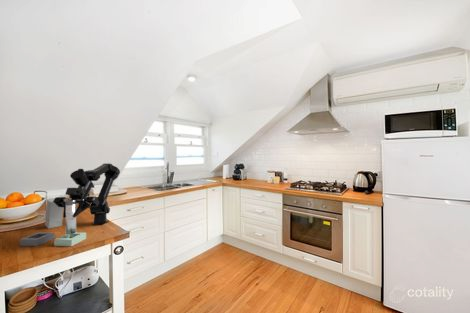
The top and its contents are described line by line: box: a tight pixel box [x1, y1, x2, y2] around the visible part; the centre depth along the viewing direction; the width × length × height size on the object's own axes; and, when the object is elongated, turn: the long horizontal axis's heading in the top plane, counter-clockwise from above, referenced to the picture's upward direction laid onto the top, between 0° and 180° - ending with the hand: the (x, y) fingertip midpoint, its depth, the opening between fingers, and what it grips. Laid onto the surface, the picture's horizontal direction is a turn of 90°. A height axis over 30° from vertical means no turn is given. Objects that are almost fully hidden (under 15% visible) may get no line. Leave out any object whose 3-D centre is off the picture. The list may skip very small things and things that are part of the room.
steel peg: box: [65, 198, 77, 234], centre depth 95 cm, size 4×4×16 cm
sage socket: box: [53, 231, 87, 247], centre depth 96 cm, size 8×8×3 cm
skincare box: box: [44, 198, 64, 230], centre depth 117 cm, size 8×7×16 cm
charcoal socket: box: [19, 231, 55, 247], centre depth 95 cm, size 8×8×3 cm
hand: (69, 217), depth 94 cm, fingers closed on steel peg, 4 cm apart
